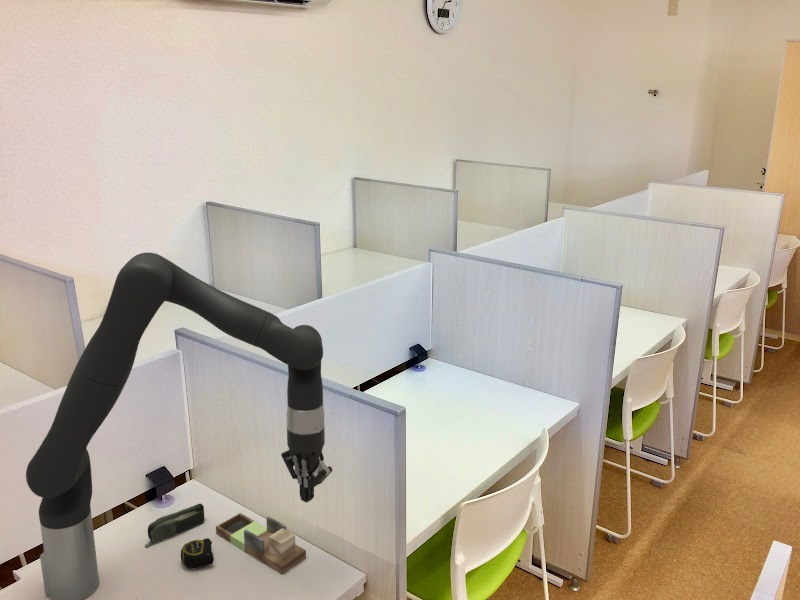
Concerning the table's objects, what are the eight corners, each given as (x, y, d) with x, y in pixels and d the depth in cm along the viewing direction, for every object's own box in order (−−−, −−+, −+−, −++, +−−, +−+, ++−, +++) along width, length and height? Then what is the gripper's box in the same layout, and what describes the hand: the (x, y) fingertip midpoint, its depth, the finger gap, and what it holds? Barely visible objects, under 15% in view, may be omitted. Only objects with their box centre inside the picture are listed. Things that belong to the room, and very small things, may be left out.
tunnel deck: (306, 558, 152) (305, 536, 150) (282, 574, 146) (281, 552, 145) (240, 520, 165) (239, 500, 163) (216, 533, 159) (215, 513, 158)
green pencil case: (199, 500, 164) (139, 524, 154) (206, 505, 162) (146, 530, 152) (200, 518, 166) (141, 544, 155) (207, 523, 164) (147, 550, 153)
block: (295, 550, 151) (295, 535, 150) (281, 559, 148) (281, 543, 147) (282, 543, 153) (282, 528, 152) (269, 552, 150) (268, 536, 149)
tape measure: (214, 569, 148) (213, 554, 147) (181, 574, 146) (180, 559, 144) (212, 549, 154) (211, 535, 153) (180, 555, 152) (179, 540, 151)
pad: (269, 536, 159) (268, 529, 158) (244, 551, 153) (244, 544, 153) (254, 528, 162) (254, 521, 161) (230, 542, 156) (230, 535, 156)
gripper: (269, 420, 137) (271, 496, 142) (316, 441, 130) (317, 520, 134) (296, 408, 143) (297, 481, 148) (342, 427, 135) (342, 503, 140)
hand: (307, 499), depth 141 cm, fingers closed
